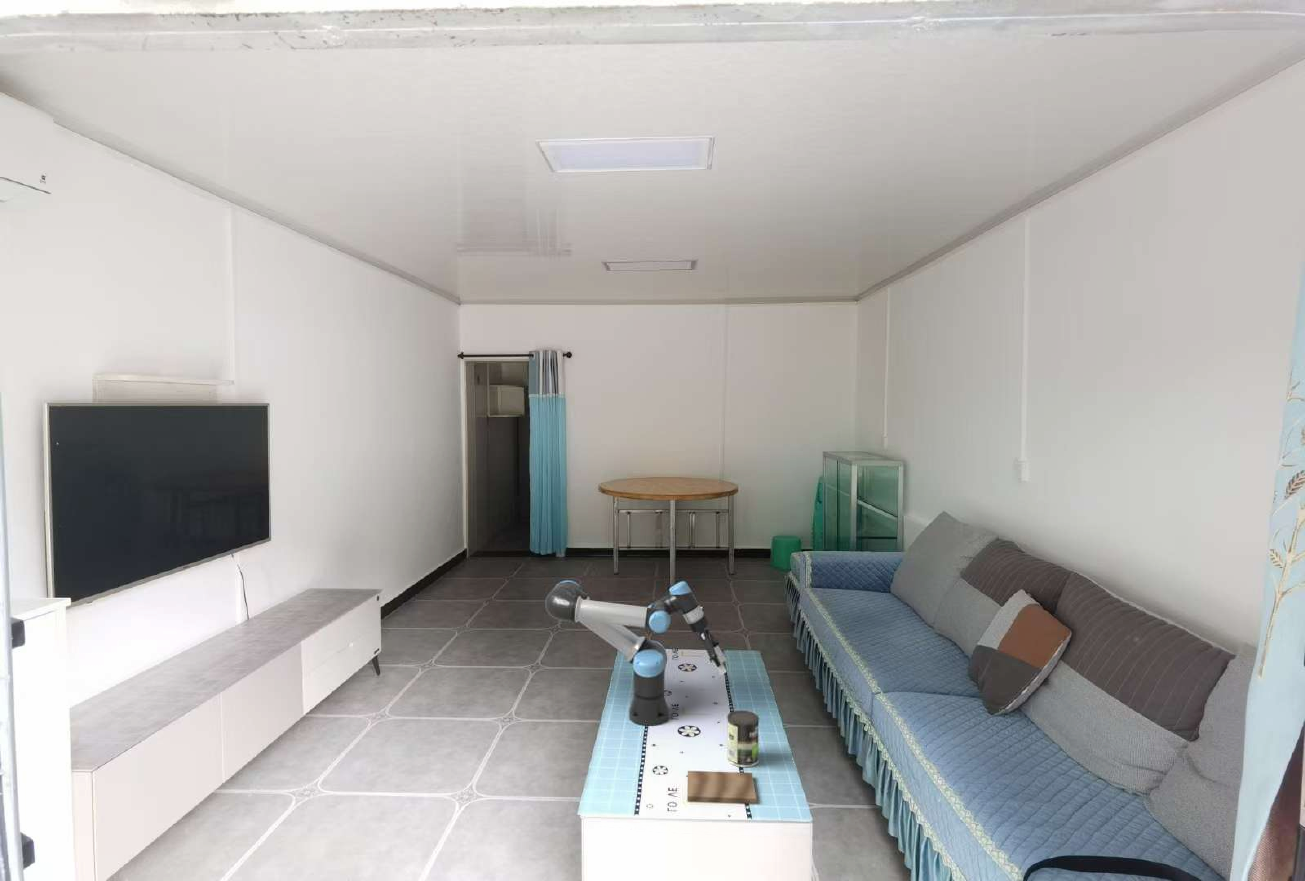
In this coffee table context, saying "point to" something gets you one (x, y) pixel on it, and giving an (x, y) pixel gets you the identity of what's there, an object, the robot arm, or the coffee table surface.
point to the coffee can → (743, 738)
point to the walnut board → (721, 787)
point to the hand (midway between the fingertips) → (723, 667)
